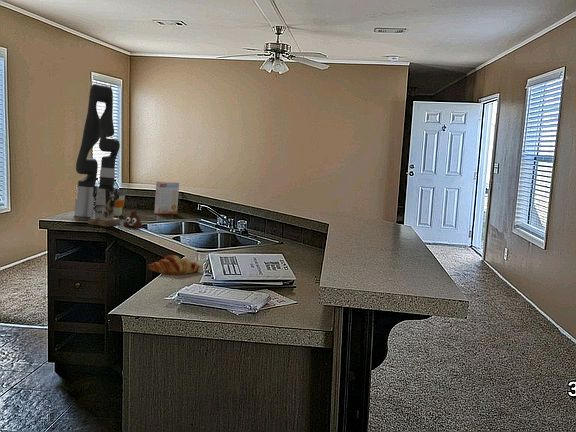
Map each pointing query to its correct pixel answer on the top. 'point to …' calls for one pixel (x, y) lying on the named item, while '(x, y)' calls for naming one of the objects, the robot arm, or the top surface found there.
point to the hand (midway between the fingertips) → (105, 206)
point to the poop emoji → (133, 220)
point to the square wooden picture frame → (104, 221)
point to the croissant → (174, 266)
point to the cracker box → (166, 197)
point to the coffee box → (104, 204)
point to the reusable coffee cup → (119, 203)
